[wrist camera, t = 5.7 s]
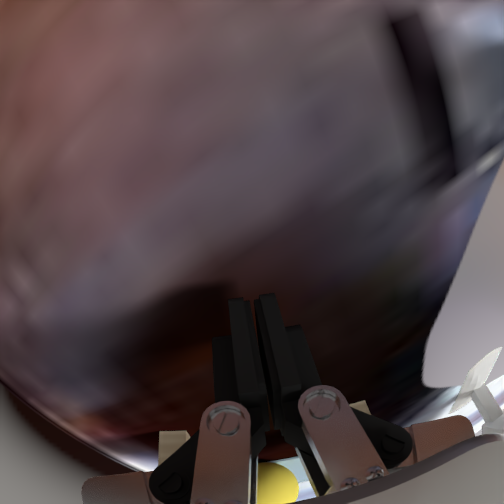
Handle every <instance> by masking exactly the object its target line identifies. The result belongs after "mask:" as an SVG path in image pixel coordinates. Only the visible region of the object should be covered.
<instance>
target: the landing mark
mask: <svg viewBox="0 0 504 504" xmlns="http://www.w3.org/2000/svg"><path fill="white" fill-rule="evenodd" d="M269 462H271V463H277V464H280V465H282V466H284V467H286V468H287V469H289V470H290V471H291V472H292V473H293V474H294V476H295V477H296V479H297V481H298V483H299V482H304V481H308V480H309V479H308V477H307V475H306V472H305V470H304V468H303V466H302V463H301V461H300V459H299V456H297V457H292V458H287V459H281V460H275V461H269Z"/></svg>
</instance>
